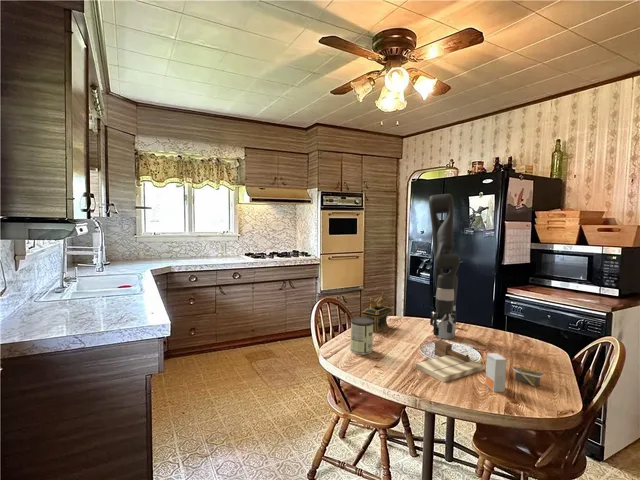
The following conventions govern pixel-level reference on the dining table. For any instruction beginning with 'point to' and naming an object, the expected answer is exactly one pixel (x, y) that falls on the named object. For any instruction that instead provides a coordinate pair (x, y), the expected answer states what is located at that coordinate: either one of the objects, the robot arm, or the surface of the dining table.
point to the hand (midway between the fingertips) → (442, 334)
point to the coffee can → (361, 335)
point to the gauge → (448, 351)
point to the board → (448, 367)
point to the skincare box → (495, 372)
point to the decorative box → (378, 313)
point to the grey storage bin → (528, 375)
